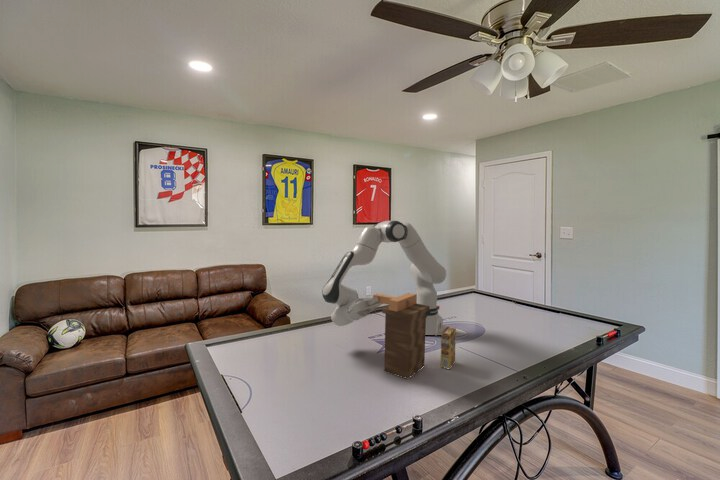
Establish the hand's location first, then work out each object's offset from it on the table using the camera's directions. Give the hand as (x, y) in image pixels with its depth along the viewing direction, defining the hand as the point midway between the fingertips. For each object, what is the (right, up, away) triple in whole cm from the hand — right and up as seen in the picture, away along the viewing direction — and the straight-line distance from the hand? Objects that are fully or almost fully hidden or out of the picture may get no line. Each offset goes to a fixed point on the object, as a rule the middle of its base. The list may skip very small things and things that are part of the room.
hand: (381, 297), depth 144 cm
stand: (+9, -29, -5) cm, 30 cm away
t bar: (+4, -2, -3) cm, 5 cm away
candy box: (+28, -29, -1) cm, 40 cm away
